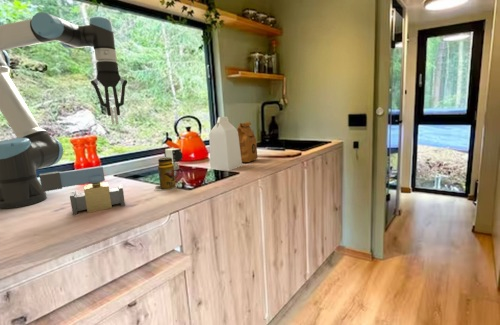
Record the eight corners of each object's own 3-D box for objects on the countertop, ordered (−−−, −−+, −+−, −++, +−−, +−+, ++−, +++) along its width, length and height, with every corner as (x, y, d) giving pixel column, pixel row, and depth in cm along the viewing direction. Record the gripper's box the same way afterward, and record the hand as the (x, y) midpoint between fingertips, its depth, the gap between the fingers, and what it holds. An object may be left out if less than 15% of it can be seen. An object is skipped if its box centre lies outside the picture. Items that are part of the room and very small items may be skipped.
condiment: (176, 188, 117) (173, 158, 114) (154, 191, 115) (150, 161, 113) (176, 184, 124) (173, 156, 121) (155, 186, 122) (152, 158, 120)
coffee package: (260, 159, 169) (258, 121, 165) (248, 164, 159) (246, 123, 155) (246, 159, 175) (243, 121, 171) (233, 163, 165) (231, 123, 161)
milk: (228, 170, 145) (224, 117, 140) (210, 169, 151) (206, 118, 146) (242, 165, 155) (238, 115, 150) (224, 164, 161) (220, 116, 156)
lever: (105, 181, 96) (103, 166, 95) (42, 192, 87) (39, 176, 86) (103, 179, 100) (100, 164, 99) (42, 189, 91) (39, 173, 90)
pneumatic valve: (176, 171, 150) (173, 148, 148) (165, 169, 159) (163, 146, 157) (185, 169, 154) (183, 146, 152) (174, 167, 162) (172, 145, 160)
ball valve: (72, 215, 92) (68, 188, 90) (74, 209, 98) (70, 184, 97) (125, 205, 98) (121, 180, 97) (123, 200, 105) (120, 176, 103)
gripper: (85, 60, 106) (95, 125, 110) (126, 60, 112) (134, 123, 116) (86, 63, 113) (95, 125, 117) (125, 63, 119) (132, 122, 123)
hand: (115, 124), depth 117 cm, fingers closed
